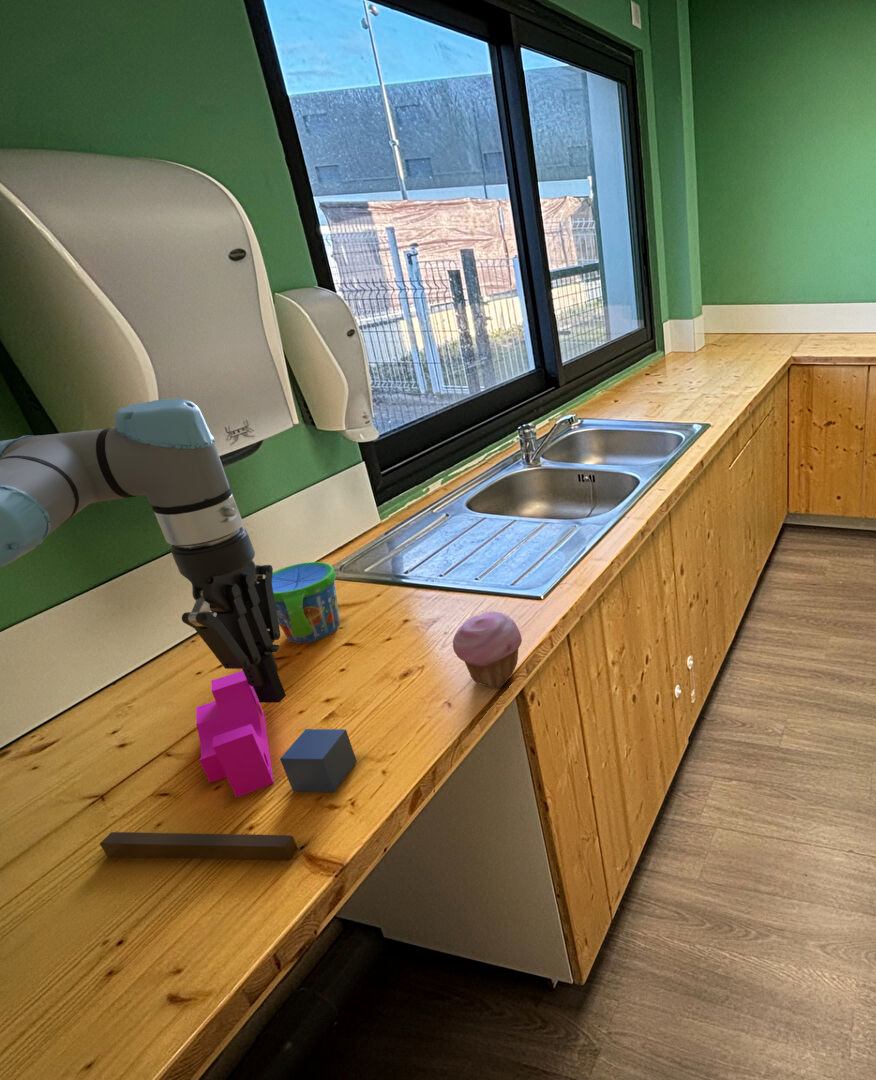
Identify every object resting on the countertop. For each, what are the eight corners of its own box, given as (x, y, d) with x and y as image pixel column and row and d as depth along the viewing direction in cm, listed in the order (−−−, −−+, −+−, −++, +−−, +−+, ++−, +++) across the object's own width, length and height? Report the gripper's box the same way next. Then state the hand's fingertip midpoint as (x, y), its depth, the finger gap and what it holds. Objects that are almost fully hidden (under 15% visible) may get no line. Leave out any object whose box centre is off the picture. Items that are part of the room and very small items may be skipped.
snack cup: (289, 614, 117) (270, 560, 113) (357, 602, 120) (341, 549, 116) (265, 666, 104) (242, 607, 99) (342, 651, 106) (323, 593, 102)
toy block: (209, 734, 90) (187, 688, 87) (264, 715, 93) (245, 669, 90) (210, 807, 79) (185, 756, 76) (273, 783, 82) (252, 733, 79)
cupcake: (450, 688, 97) (434, 627, 93) (493, 654, 104) (481, 596, 100) (499, 704, 93) (485, 642, 89) (540, 668, 100) (530, 609, 96)
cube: (292, 791, 81) (279, 758, 78) (317, 760, 85) (305, 728, 83) (334, 792, 80) (322, 759, 78) (357, 761, 85) (346, 729, 83)
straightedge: (107, 857, 73) (99, 843, 72) (119, 845, 74) (111, 831, 74) (289, 860, 72) (283, 846, 71) (298, 848, 73) (292, 834, 72)
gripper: (198, 561, 75) (269, 733, 85) (273, 512, 86) (328, 668, 96) (131, 562, 75) (210, 733, 85) (216, 513, 87) (276, 669, 97)
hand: (272, 699), depth 91 cm, fingers closed
